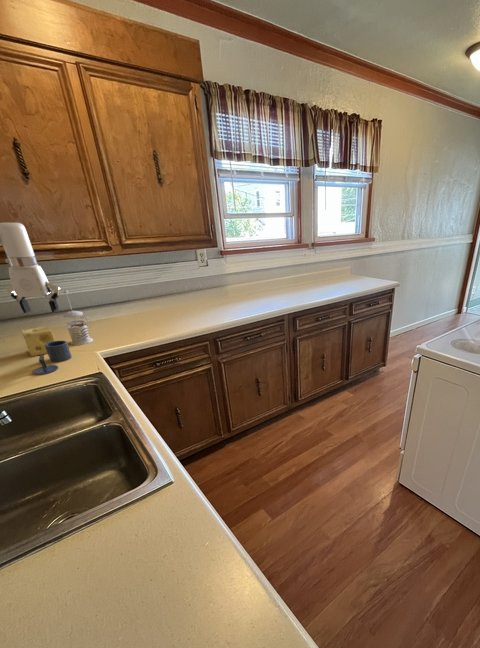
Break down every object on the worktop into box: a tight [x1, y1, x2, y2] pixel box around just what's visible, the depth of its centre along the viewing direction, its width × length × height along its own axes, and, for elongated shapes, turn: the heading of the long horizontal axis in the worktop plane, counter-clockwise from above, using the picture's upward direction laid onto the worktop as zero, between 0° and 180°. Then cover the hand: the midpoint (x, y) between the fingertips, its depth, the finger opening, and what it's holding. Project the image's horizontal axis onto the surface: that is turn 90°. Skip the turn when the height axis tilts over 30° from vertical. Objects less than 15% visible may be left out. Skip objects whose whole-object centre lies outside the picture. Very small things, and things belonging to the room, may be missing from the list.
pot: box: [45, 340, 73, 363], centre depth 139 cm, size 8×8×8 cm
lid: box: [32, 354, 59, 376], centre depth 129 cm, size 8×8×6 cm
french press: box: [62, 289, 94, 346], centre depth 156 cm, size 10×12×25 cm
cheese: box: [21, 326, 56, 358], centre depth 148 cm, size 10×11×10 cm
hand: (41, 311), depth 120 cm, fingers open, 9 cm apart
